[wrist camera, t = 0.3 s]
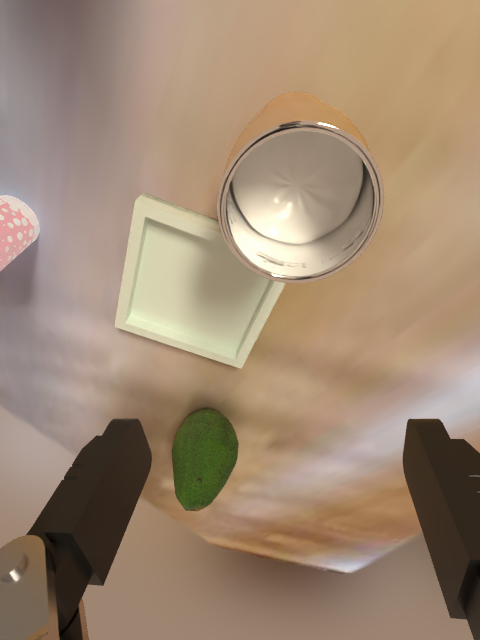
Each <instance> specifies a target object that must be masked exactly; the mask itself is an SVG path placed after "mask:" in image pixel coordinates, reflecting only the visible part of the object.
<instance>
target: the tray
mask: <svg viewBox="0 0 480 640" xmlns="http://www.w3.org/2000/svg"><path fill="white" fill-rule="evenodd" d="M284 285H285V283H282V282H277V281H273V280H270V279H267V278H264V277H262V276H260V275H258V274H256V273H254V272H253V271H251V270H250V269H248V268H247V267H246V266H244V265H243V264H242V263H241V262H240V261H239V260H238V259H237V258H236V257H235V256H234V254H233V253H232V252H231V250H230V249H229V247H228V246H227V244H226V242H225V240H224V238H223V235H222V232H221V229H220V226H219V222H218V221H216V220H213V219H211V218H208V217H205V216H203V215H200V214H198V213H195V212H192V211H190V210H187V209H185V208H182V207H179V206H177V205H174V204H172V203H169V202H166V201H164V200H161V199H158V198H156V197H153V196H151V195H148V194H145V193H142V194H141V195H140V196H139V197H138V198H137V199H136V200H135V204H134V210H133V216H132V223H131V229H130V235H129V241H128V247H127V253H126V259H125V265H124V271H123V277H122V283H121V290H120V296H119V302H118V308H117V314H116V320H115V326H114V327H116V328H119V329H122V330H125V331H128V332H131V333H134V334H137V335H140V336H143V337H146V338H149V339H152V340H156V341H159V342H162V343H165V344H168V345H171V346H174V347H177V348H180V349H183V350H186V351H189V352H192V353H195V354H198V355H201V356H204V357H207V358H210V359H213V360H216V361H219V362H222V363H225V364H228V365H231V366H234V367H237V368H240V369H241V368H242V366H243V364H244V362H245V360H246V359H247V357H248V355H249V353H250V351H251V349H252V347H253V345H254V343H255V341H256V339H257V337H258V335H259V333H260V332H261V330H262V328H263V326H264V324H265V322H266V320H267V318H268V316H269V314H270V312H271V310H272V308H273V307H274V305H275V303H276V301H277V299H278V297H279V295H280V293H281V291H282V289H283V287H284Z"/></svg>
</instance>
